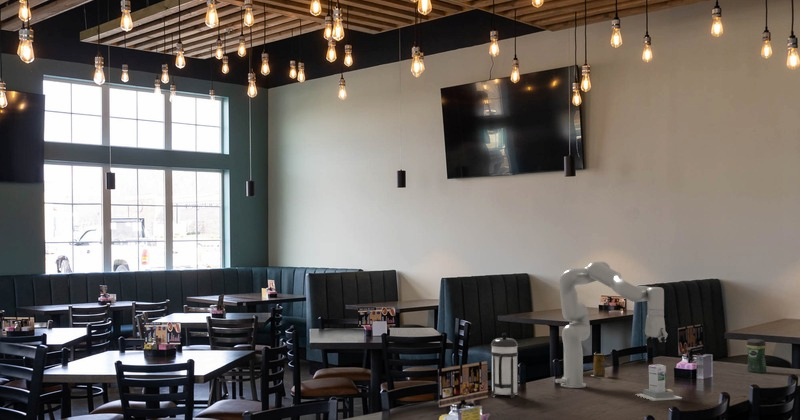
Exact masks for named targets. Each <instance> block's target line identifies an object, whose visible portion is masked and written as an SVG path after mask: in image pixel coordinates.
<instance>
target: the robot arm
mask: <svg viewBox="0 0 800 420" xmlns="http://www.w3.org/2000/svg"><path fill="white" fill-rule="evenodd" d="M559 277H560V278H559V280H558V287H559V293H560V304H561V313H562V317H563V319H564V320H566V321H567V322H571V323H570V324H569V323H568V324H567V325H565V326H564V327H563V328H562V331H561V339H562V343H563V345H562V346H563V376H562V377H561V378H555V379H554V382H555V383H556V384H558V383H559V384H560V387H563V388H571V389H580V388H581V389H582V388H586V387H587V383H584V376H583V375H584V363H583V362H584V360H583V359H584V356H583V355H584V353H583V351H584V350H583V345H582V342H583V341H586V340H588V339H589V337H590V335H591V325H590V317H589V310H588V308H587V305H586V304H585V303H583V302H582V301H579V299H578V292H577V290H576V286H579V285H581V286H582V285H588V284H591V283H595V282H596V281H597V282H599V283H601V284H603V285H605V286H607V287H608V288H610V289H611V290H613V292H615V293H616V294H617V295H619V296H620V297H622V298H625V299H626V300H627V301H630V302H633V303H639V302H646V303H647V313H646V314H647V315H646V319H645V327H644V330H643V331H644V336H645V340H646V348H648V349H649V348H650V349H652V348H653V347H654V339H653V338H657V340H658V351H662V352H663V351H666V342H667V339H668V335H669V334H668V333H667V331H666V324H665V317H664V316H665V290H664V288H663V287H659V286H647V285H636V286H635V285H633V284H631V283H629V282H627V281H626V280H624V279H623V278H622V275H621V273H620V272H618V271H616V270H615V269H613V268H611V267H610V265H609V263H607V262H605V261H592V262H590V263H589V264H588V265H587V266H584V267H578V268H577V267H575V268H571V269H567V270H565V271H564V272H563V273H562V274H561V276H559Z"/></svg>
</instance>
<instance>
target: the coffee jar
mask: <svg viewBox="0 0 800 420" xmlns="http://www.w3.org/2000/svg"><path fill="white" fill-rule="evenodd" d="M746 348H747V365H746V366H747V367H746V369H747V372H749V373H754V372H756V374H761V373H762V374H765V373H766V372H767V364H766V351H765V350H766V348H767V345H766V341H765V339H760V338H759V339H758V338H749V339H747V340H746Z"/></svg>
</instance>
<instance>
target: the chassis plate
mask: <svg viewBox="0 0 800 420" xmlns="http://www.w3.org/2000/svg"><path fill="white" fill-rule="evenodd" d="M642 392H643V393H635V394H634V395H635V396H636V395H637V396H636V397H639V396H640V397H639V398H642V397H643V398H642V399H645V398H646V399H647V400H648V399H649V401H652V402H655V401H671V400H673V401H674V400H682V399H683V397H681V396H678V395H675V391H674V390H673V389H670V388H668V389H667V392H653V391H649V388H643V389H642Z"/></svg>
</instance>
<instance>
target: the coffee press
mask: <svg viewBox="0 0 800 420" xmlns="http://www.w3.org/2000/svg"><path fill="white" fill-rule="evenodd" d="M501 336H502V337H498V338H497V337H496V338H495V339H493V340H492V341H491V343H490V346H491V353H490V354H491V394H490V396H491V397H492V398H496V396H497V395H500V396H503V395H504V396H509V397H510V399H515V398H516V396H518V395H519V392H518V355H519V354H518V353H519V352H518V346H519V344H518V342H517V341H516V339H514V338H511V337H510V338H509V337H507V333H506V332H503V333H502V334H501ZM515 395H516V396H515Z"/></svg>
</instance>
